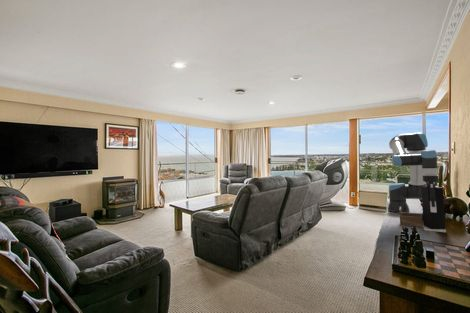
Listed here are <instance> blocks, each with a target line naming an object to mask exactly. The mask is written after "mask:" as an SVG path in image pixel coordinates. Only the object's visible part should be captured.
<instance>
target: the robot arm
mask: <svg viewBox="0 0 470 313" xmlns="http://www.w3.org/2000/svg"><path fill="white" fill-rule="evenodd" d="M388 145H389V148H390V149H391V151H392V154H393V155H392V156H391V163H392V166H393V167H409V174H410V176H409V177H410V179H409V181H408V183H407V184H406V183H405V182H398V183H397V182H396V183H392V184H389V185H388V194H389V195H388V196H389V197H388V198H389V199H388V200H389V203H388V206H387V212H390V211H392V212H391V213H397V212H399V209H400V207H401V209H402V212H403V213H406V212H407V213H411V212H410V207H409V204H408V203H407V200H422V191H421V187H428V188H429V191H430V200H429V201H430V209H431V212H436V213H437V210H436V197H435V186H436V184H435V183H436V182H439V168H438V159H437V158H438V155H437V151H436V150H435V149H429V150H428V149H427V150H426V148H428V147H429V146H428V145H429V143H428V139H427V136H426V133H424V132H413V133H402V134H398V135H395V136H393V137H392V138H391V139H390V141H389V143H388ZM406 151H407V152H408V153H409V154H407V152H406ZM433 182H435V183H433Z"/></svg>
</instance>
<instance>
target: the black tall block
mask: <svg viewBox="0 0 470 313" xmlns="http://www.w3.org/2000/svg"><path fill="white" fill-rule="evenodd" d="M433 183H434V184H435V183H436V182H433ZM421 191H422V199H421V205H422V224H423V227H424V226H426V227H428V228H430V229H445V230H446V217H445V216H446V214H445V200H444V197H445V196H444V187H441V186H436V185H435V197H436V210H437V213H436V212H431V209H430V201H429V200H430V191H429V188H428V187H421Z"/></svg>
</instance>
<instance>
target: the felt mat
mask: <svg viewBox="0 0 470 313" xmlns="http://www.w3.org/2000/svg"><path fill="white" fill-rule="evenodd" d="M423 231H430V232H438V233H439V232H440V233H447V230H446V229H430V228H428V227H426V226H424V225H423Z"/></svg>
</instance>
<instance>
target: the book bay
mask: <svg viewBox="0 0 470 313" xmlns="http://www.w3.org/2000/svg"><path fill="white" fill-rule="evenodd" d="M398 214H399V225H401V226H409V227H420V228H422V227H423V228H424V224H423V215H422V213H420V212H419V213H415V212H407V213H403V212H402V209H401V207H400V209H399V213H398Z"/></svg>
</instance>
